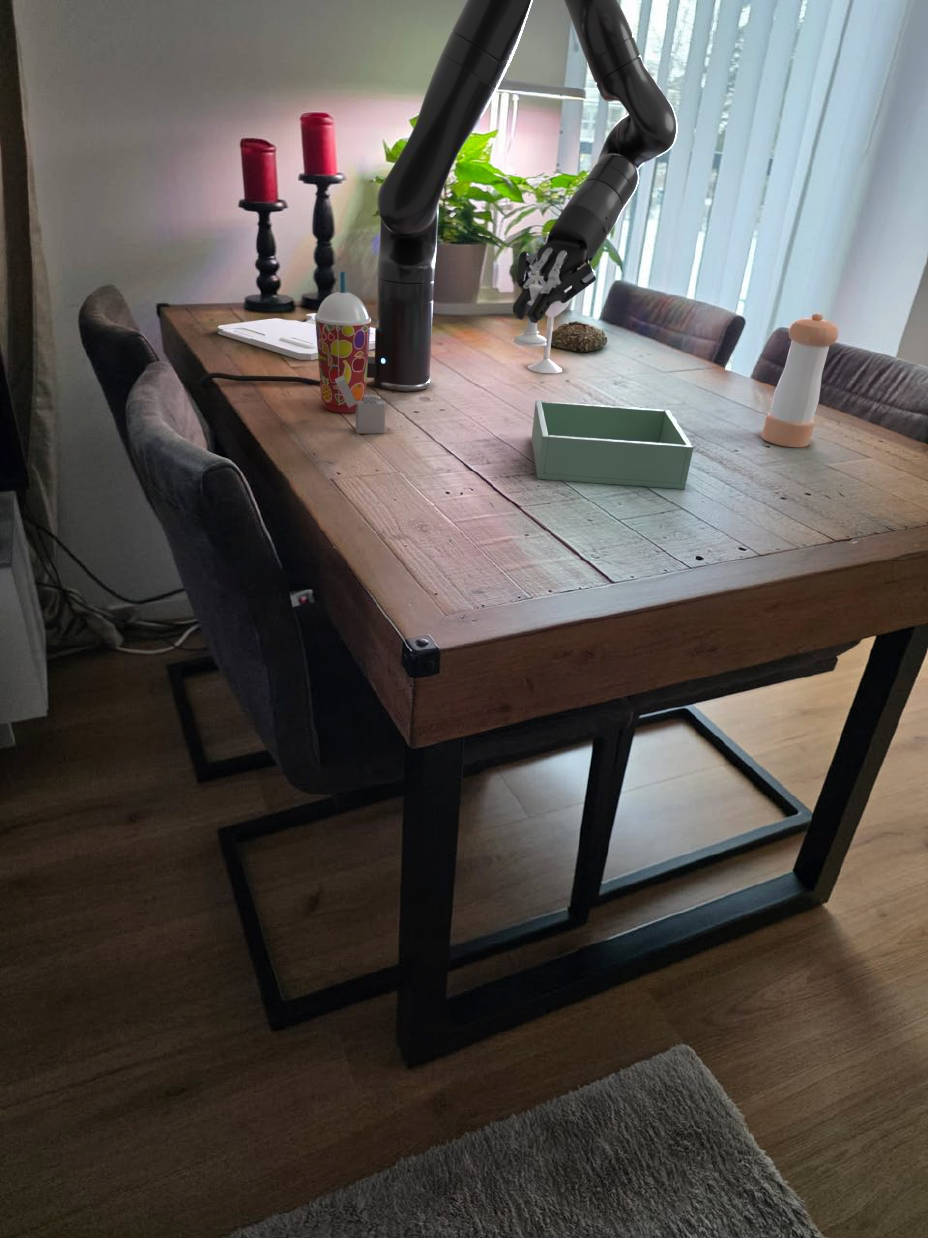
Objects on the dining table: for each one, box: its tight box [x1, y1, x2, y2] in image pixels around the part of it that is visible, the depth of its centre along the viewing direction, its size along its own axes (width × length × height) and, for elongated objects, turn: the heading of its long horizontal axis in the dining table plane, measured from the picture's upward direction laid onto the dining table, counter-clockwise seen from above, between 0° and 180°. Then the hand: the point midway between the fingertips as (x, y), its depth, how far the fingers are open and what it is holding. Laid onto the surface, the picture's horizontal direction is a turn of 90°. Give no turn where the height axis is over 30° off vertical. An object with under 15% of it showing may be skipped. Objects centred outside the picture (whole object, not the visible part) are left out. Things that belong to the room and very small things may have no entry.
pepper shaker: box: [761, 313, 839, 448], centre depth 130 cm, size 7×7×19 cm
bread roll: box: [551, 320, 608, 353], centre depth 184 cm, size 13×12×5 cm
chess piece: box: [513, 271, 547, 348], centre depth 124 cm, size 5×5×10 cm
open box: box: [531, 400, 694, 490], centre depth 118 cm, size 20×17×6 cm
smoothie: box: [315, 271, 372, 414], centre depth 129 cm, size 8×8×20 cm
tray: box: [217, 312, 376, 361], centre depth 174 cm, size 28×28×2 cm
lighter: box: [335, 375, 387, 435], centre depth 122 cm, size 7×2×8 cm, turn 104°
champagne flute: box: [527, 231, 572, 374], centre depth 159 cm, size 7×7×24 cm
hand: (524, 316), depth 123 cm, fingers closed on chess piece
